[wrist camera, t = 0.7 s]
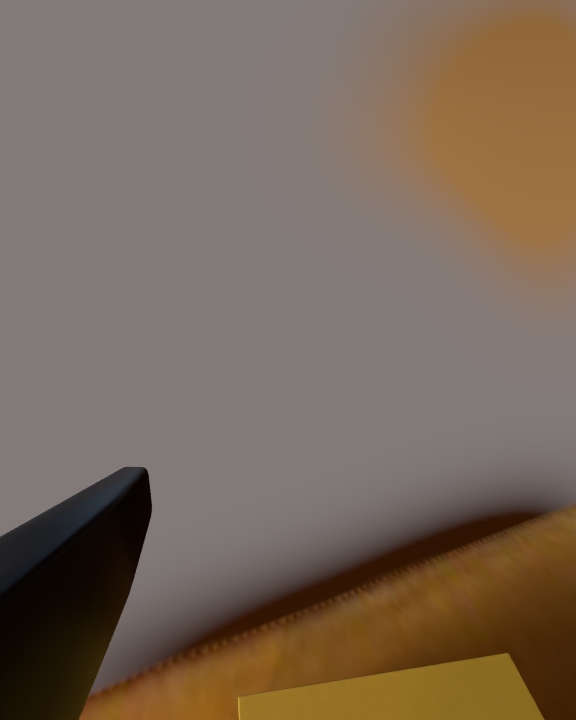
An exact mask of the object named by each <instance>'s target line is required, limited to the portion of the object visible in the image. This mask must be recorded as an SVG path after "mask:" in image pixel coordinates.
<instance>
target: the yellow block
mask: <svg viewBox="0 0 576 720" xmlns="http://www.w3.org/2000/svg"><path fill="white" fill-rule="evenodd" d="M238 707H239V720H545V719H544V717H543V715H542V714H541V712H540V710H539V708H538V706H537V704H536V703H535V701H534V699H533V697H532V695H531V693H530V691H529V690H528V688H527V686H526V684H525V682H524V680H523V679H522V677H521V675H520V673H519V671H518V669H517V668H516V666H515V664H514V662H513V660H512V658H511V656H510V655H509V653H503V654H497V655H491V656H485V657H479V658H473V659H467V660H460V661H454V662H448V663H442V664H436V665H430V666H423V667H417V668H411V669H405V670H399V671H393V672H386V673H380V674H374V675H368V676H362V677H356V678H350V679H343V680H337V681H331V682H325V683H319V684H313V685H306V686H300V687H294V688H288V689H282V690H276V691H270V692H263V693H257V694H251V695H245V696H239V697H238Z"/></svg>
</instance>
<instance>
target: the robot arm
mask: <svg viewBox="0 0 576 720" xmlns="http://www.w3.org/2000/svg"><path fill="white" fill-rule="evenodd" d="M151 513H152V502H151V493H150V484H149V474H148V471H147V469H146V468H144V467H124V468H122V469H120V470H118V471H116V472H115V473H113V474H111V475H109V476H108V477H106V478H104V479H102V480H100V481H99V482H97V483H95V484H93V485H92V486H90V487H88V488H86V489H84V490H83V491H81V492H79V493H77V494H76V495H74V496H72V497H70V498H69V499H67V500H65V501H63V502H61V503H60V504H58V505H56V506H54V507H52V508H51V509H49V510H47V511H45V512H43V513H42V514H40V515H38V516H37V517H35V518H33V519H31V520H29V521H27V522H26V523H24V524H22V525H20V526H19V527H17V528H15V529H13V530H11V531H10V532H8V533H6V534H4V535H3V536H1V537H0V720H79V718H80V716H81V713H82V711H83V708H84V706H85V703H86V701H87V698H88V696H89V693H90V691H91V688H92V686H93V683H94V681H95V678H96V676H97V673H98V671H99V668H100V666H101V663H102V661H103V658H104V656H105V653H106V651H107V648H108V646H109V643H110V641H111V638H112V636H113V634H114V631H115V628H116V626H117V624H118V621H119V619H120V616H121V614H122V611H123V608H124V606H125V604H126V601H127V598H128V596H129V593H130V589H131V586H132V583H133V580H134V575H135V572H136V569H137V565H138V562H139V558H140V554H141V551H142V547H143V544H144V540H145V536H146V533H147V529H148V526H149V522H150V518H151Z"/></svg>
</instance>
